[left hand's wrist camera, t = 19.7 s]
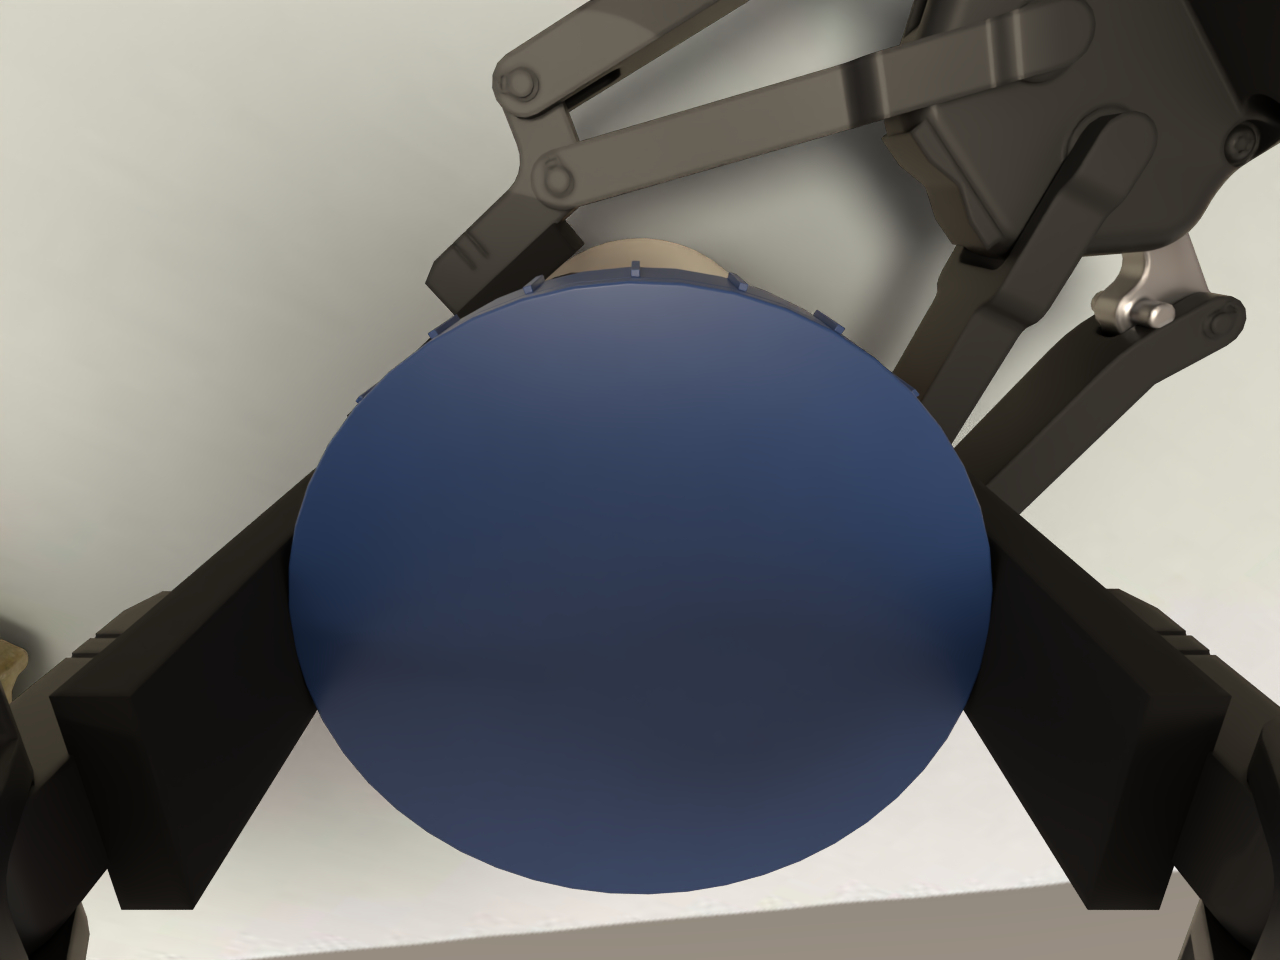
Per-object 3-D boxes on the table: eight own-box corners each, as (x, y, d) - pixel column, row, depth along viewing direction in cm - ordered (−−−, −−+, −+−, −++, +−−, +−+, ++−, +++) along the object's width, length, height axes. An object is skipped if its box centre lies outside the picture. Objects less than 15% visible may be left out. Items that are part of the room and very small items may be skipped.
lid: (1015, 704, 13) (1071, 780, 11) (512, 877, 14) (494, 967, 12) (831, 137, 10) (870, 124, 8) (207, 432, 11) (129, 474, 9)
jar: (549, 202, 23) (404, 219, 9) (805, 285, 24) (1045, 420, 10) (487, 451, 26) (303, 763, 12) (718, 516, 27) (806, 881, 13)
